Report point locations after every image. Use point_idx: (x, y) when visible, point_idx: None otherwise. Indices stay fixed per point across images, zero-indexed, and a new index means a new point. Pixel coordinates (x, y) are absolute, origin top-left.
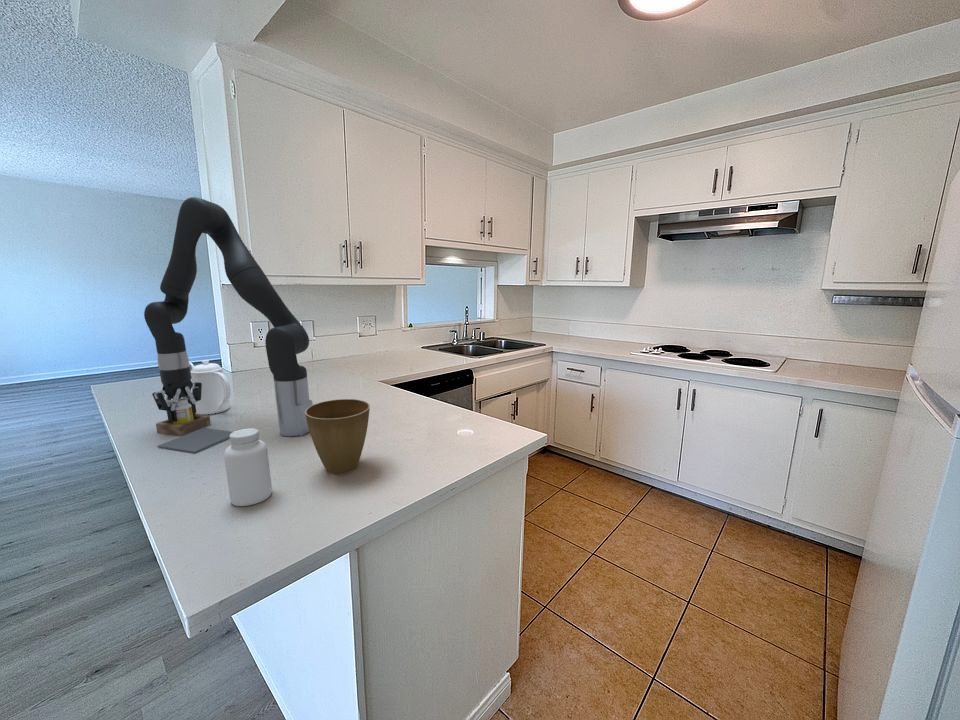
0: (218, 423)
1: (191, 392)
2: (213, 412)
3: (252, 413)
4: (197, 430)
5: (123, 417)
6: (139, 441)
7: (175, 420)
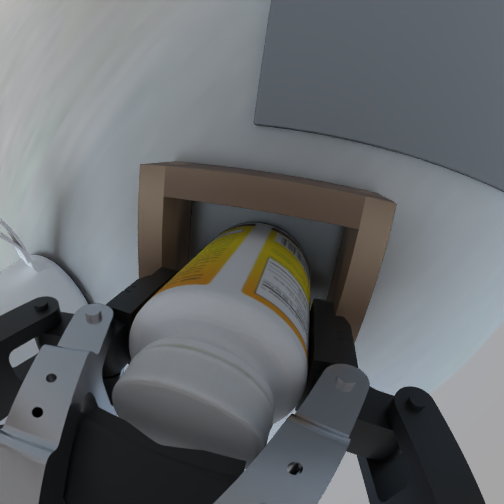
0: (149, 135)
1: (18, 392)
2: (68, 279)
3: (37, 106)
4: (305, 130)
5: None
6: (432, 347)
7: (329, 303)
